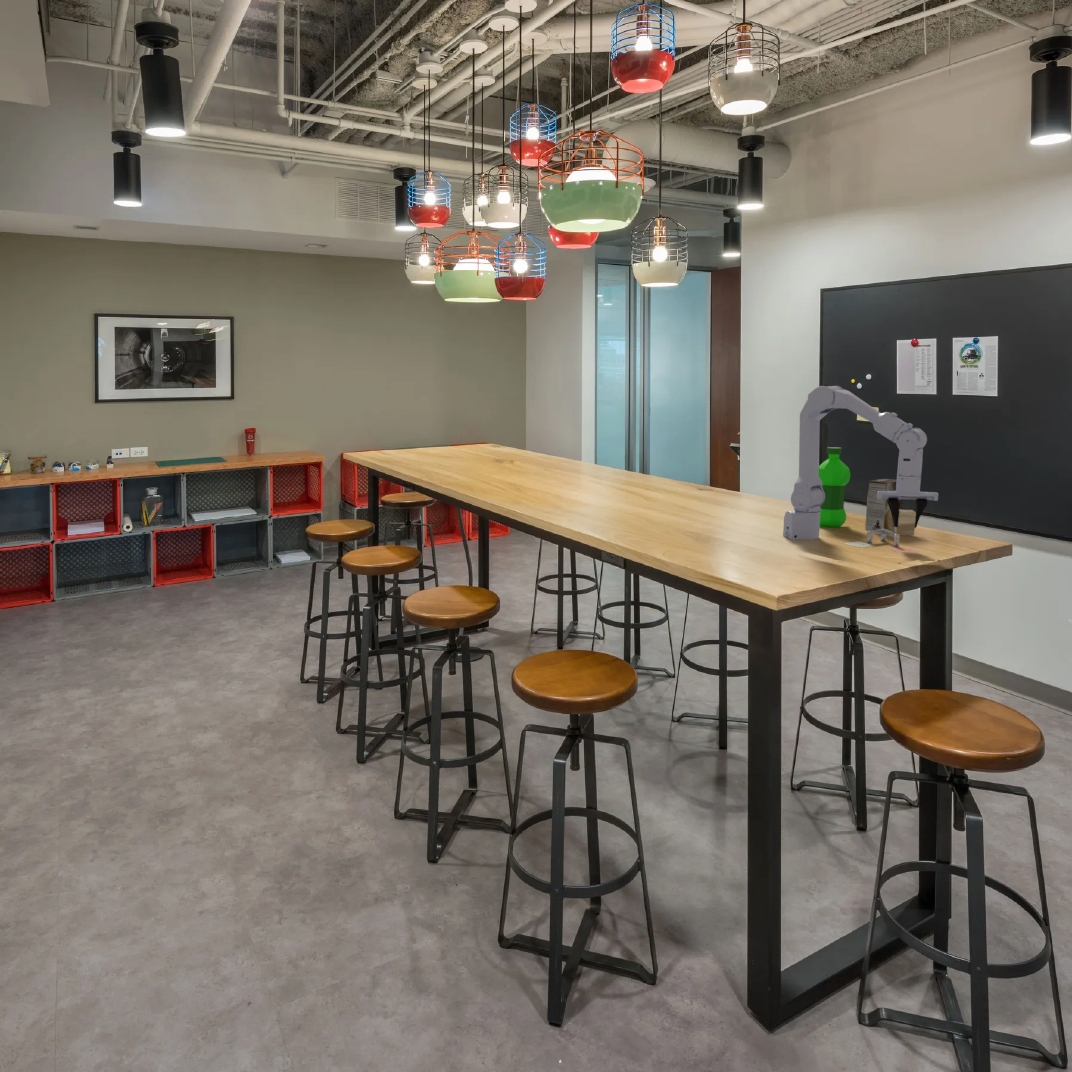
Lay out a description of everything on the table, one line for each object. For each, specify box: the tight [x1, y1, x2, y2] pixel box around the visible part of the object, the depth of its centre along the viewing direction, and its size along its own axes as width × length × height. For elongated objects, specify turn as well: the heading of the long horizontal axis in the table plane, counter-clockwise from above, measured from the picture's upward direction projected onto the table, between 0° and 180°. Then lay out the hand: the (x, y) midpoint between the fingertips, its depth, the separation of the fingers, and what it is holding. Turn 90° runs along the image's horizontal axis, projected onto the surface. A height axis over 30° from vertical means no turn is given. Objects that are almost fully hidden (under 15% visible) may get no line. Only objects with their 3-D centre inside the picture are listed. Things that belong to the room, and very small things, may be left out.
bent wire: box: [865, 529, 901, 547], centre depth 223 cm, size 7×9×4 cm
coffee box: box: [864, 478, 904, 532], centre depth 244 cm, size 9×6×16 cm
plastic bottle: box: [819, 446, 851, 528], centre depth 252 cm, size 10×10×25 cm
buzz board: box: [843, 541, 919, 553], centre depth 221 cm, size 16×18×1 cm
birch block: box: [894, 509, 916, 536], centre depth 215 cm, size 4×4×6 cm
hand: (904, 526), depth 215 cm, fingers closed on birch block, 4 cm apart
